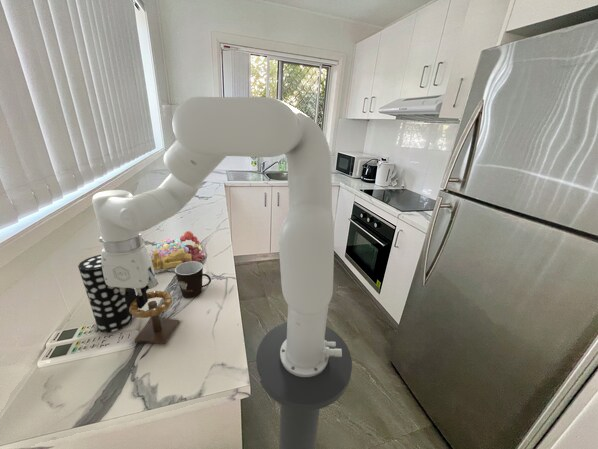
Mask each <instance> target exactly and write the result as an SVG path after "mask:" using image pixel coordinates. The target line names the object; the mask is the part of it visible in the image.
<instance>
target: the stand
mask: <svg viewBox="0 0 598 449" xmlns="http://www.w3.org/2000/svg"><path fill="white" fill-rule="evenodd" d="M147 306H148V310H150V309H154V308H156V307H158V302H157V301H156V300H151V301H149V302H147ZM179 323H180V319H177V318H176V319H174V318H161V316H160V314H158V315H156V316H152V317H150V320H149V321H148V322H147V323H146V325H145V326H144V327H143V328H142V330H141V331H140V332H139V333H138V335H136V337H135V338H134V340H133V341H134V343H135V344H149V345H151V344H152V345H166V344H167V342H168V341H169V339H170V337H171V336H172V334H173V333H174V331H175V329H176V328H177V327H178V325H179Z"/></svg>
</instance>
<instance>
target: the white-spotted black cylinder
mask: <svg viewBox="0 0 598 449" xmlns="http://www.w3.org/2000/svg"><path fill="white" fill-rule="evenodd" d="M77 268H78V271H79V274H80V277H81V280H82V284H83V286H84V289H85V293H86V296H87V299H88V301H89V305H90V309H91V310H92V314H93V317H94V321H95V324H96V326H97V330H98V331H99V332H101V333H113V332H117V331H119V330H122V329H123V328H125V327H126V326H129V324H130V323H131V322H132V320H133V319H134V316H133V315H132V314H131V313H130V312H129V310H130V308H127V305H126V301H125V297H124V295H121V293H120V291H119V290H118V289H117V288H115V287H111V286H108V285H106V283H105V280H104V276H103V271H102V263H101V254H98V255H97V254H96V255H93V256H91V257H88V258H85V259H84V260H82V261H81V262H79V263H78V265H77Z"/></svg>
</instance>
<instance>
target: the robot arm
mask: <svg viewBox="0 0 598 449" xmlns="http://www.w3.org/2000/svg"><path fill="white" fill-rule="evenodd" d="M172 116H173V117H172V122H171V124H172V125H171V126H172V132H173V134H174V137H175V140H174V142H173V143H172V144H171V145H170V147H168V149H167V150H166V151H165V152H164V154H163V158H162V159H163V164H164V166H165V168H166V169H167V171H168V172H169V174H168V176H167V177H166V178H165V179H164V180H163V181H162V182H161V184H160V185H159V186H158V187H156V188H154V189H150V190H147V191H144V192H142V193H139V194H135V195H133V193H131V192H130V191H128V190H124V189H110V190H101V191H100V192H97V193H95V194H93V196H92V198H91V203H92V208H93V211H94V214H95V218H96V222H97V226H98V229H99V233H100V237H99V238H98V241H99V242H100V243H102V244H103V248H102V249H101V254H100V255H101V263H102V271H103V276H104V280H105V283H106V285H108V286H111V287H115V288H117V289H118V290H119V291H120V293H121V295H124V297H125V301H126V305H127V308H130V304H131V303H132V302H133V301H134V300H135V299H136V301H137V306H138V309H140V310H142V308H143V307H144V306H146V304H148V301H149V299H148V297H147V293H148V290H150V289H154V288H156V287H157V286H158V285H159V282H158V280H157V278H156V277H155V274H156V273H154V268H153V264H152V261H151V258H150V252H149V250H148V247H147V245H145V244H144V243H143V237H142V232H144V231H147V230H150V229H152V228H153V227H155V226H157V225H159V224H161V223H163V222H164V221H166V220H168V219H170V218H173V217H174V216H175V215H177V214H178V213H179V212H180V211H182V209H183V208H184V207H185V206H186V205H187V204H188V203H189V202H190V201H191V200H192V199H193V198H194V197H195V196H196V194H197V193H198V191H199V190H200V187H201V185H202V183H203V182H204V181H205V179H207V177H208V176H209V175H210V174H211V173H212V172H214V170H215V169H216V168H217V167H218V166H219V165H220V164H221V163H222V162H223V161H224V160H225V159H226V158H227V157H244V158H245V157H246V158H247V157H248V158H249V157H250V158H274V157H280V156H282V155H284V156H285V158H286V162H287V184H288V185H287V186H288V210H287V214H286V215H285V217H284V220H283V222H282V224H281V226H280V229H279V234H278V254H279V270H280V285H281V290H282V291H281V293H282V296H283V299H284V301H285V302H286V304H287V339H286V340H285V341H284V342H283V344H282V346H281V349H280V359H281V362H282V364H283V366H284V367H285V368H286V370H288V371H289V372H290V373H292V374H294V375H296V376H299V377H312V376H315V375H317V374H319V373H321V372H322V371H323V370H324V369H325V367H326V365H327V363H328V358H329V356H334V357H342V349H329V347H336V342H327V341H326V340H325V330H326V326H327V321H328V313H329V307H330V305H329V304H330V303H331V301H332V298H333V294H334V272H335V271H334V269H335V268H334V267H335V266H334V265H335V221H334V215H333V202H332V201H333V185H332V184H333V182H332V157H331V156H332V155H331V151H330V146H329V143H328V140H327V137H326V135H325V133H324V132H323V130H322V129H321V127H320V126H319V125H318V123H317V122H316V121H314V119H312V118H311V117H310V116H309V115H307V114H306V113H304V112H302V111H301V110H299V109H298V108H296V107H293V105H290V104H289V103H286V102H284V101H282V100H281V99H277V98H274V97H269V96H193V97H189V98H187V99H185V100H183V101H182V102H181V103H180V104H179V105H177V107H176V109H175V110H174V112H173V115H172Z"/></svg>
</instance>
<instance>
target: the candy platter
mask: <svg viewBox="0 0 598 449" xmlns="http://www.w3.org/2000/svg"><path fill="white" fill-rule="evenodd" d="M186 241H191V242H193V243H185V242H186ZM203 252H204V250H203V247H202V245H201V244H200V240H199V239H198V237H197V236H196V235H194V233H193V232H192V231H189V230H188V231H185V233H183V235H181V236H180V237H179V238H176V239H172V238H171V237H168V238H166V239H163V240H161V242H159V243H157V244H156V250H154V251H153V249H151V251H150V252H149V255H150V258H151V261H152V264H153V268H154V274H158V273H161V272H166V271H168V272H175V268H176V267H177V266H178V265H180V264H182V263H184V262H189V261H197V262H200V263H202V262H201V260H205V255H204V253H203Z"/></svg>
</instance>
